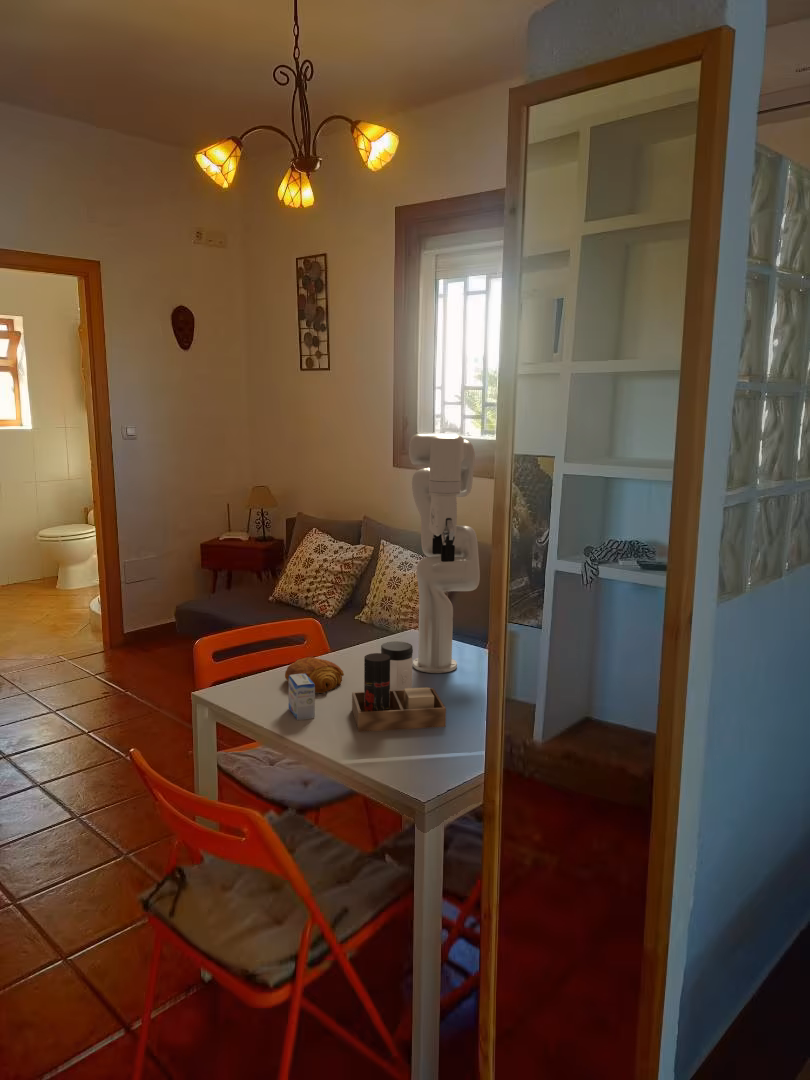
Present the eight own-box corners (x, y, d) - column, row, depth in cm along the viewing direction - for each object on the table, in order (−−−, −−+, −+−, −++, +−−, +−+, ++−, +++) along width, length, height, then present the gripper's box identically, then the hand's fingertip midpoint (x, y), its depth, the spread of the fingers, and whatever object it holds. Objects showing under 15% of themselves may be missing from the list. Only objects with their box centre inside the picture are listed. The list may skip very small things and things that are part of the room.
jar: (390, 698, 199) (390, 652, 197) (373, 688, 206) (373, 644, 204) (419, 692, 204) (420, 647, 202) (402, 682, 211) (402, 639, 209)
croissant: (303, 706, 199) (304, 677, 197) (276, 680, 211) (277, 653, 209) (353, 693, 207) (354, 666, 205) (324, 669, 219) (325, 643, 217)
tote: (358, 734, 177) (358, 713, 176) (352, 712, 190) (352, 692, 189) (445, 728, 181) (445, 708, 180) (433, 707, 193) (433, 688, 193)
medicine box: (288, 708, 191) (287, 674, 190) (306, 706, 193) (305, 672, 192) (297, 720, 184) (296, 685, 183) (315, 718, 186) (315, 683, 185)
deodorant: (392, 722, 183) (393, 660, 180) (368, 725, 181) (368, 662, 178) (385, 712, 188) (385, 652, 186) (361, 715, 186) (361, 654, 184)
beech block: (403, 712, 189) (404, 688, 188) (428, 711, 190) (428, 687, 189) (408, 722, 183) (408, 697, 182) (433, 720, 184) (434, 696, 183)
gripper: (422, 484, 198) (421, 551, 201) (437, 492, 182) (435, 564, 185) (451, 484, 200) (449, 550, 203) (469, 491, 183) (466, 564, 186)
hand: (443, 557), depth 194 cm, fingers open, 9 cm apart
